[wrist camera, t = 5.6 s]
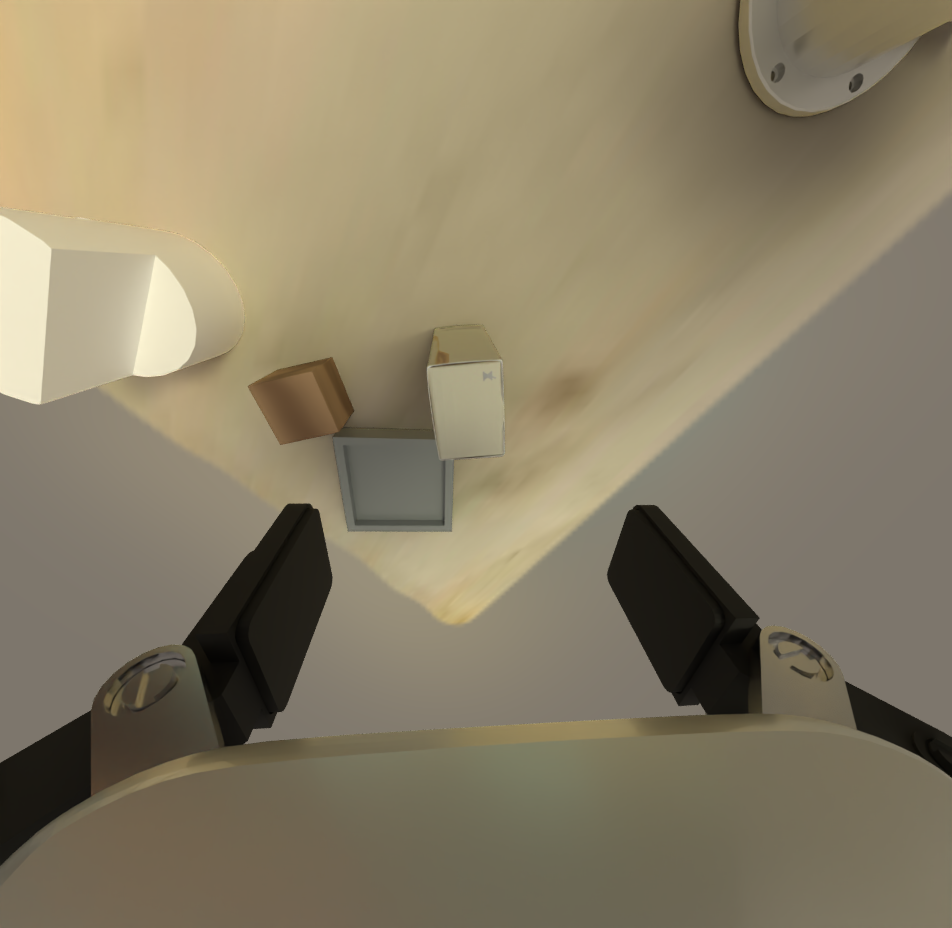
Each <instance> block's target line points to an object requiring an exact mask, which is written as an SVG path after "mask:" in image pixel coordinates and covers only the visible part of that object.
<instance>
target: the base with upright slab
mask: <svg viewBox="0 0 952 928" xmlns="http://www.w3.org/2000/svg"><path fill="white" fill-rule="evenodd" d="M244 322H245V314H244V306H243V301H242V298H241V296H240V293H239V290H238V288H237V285H236V284H235V282H234V281H233V279H232V278H231V276H230V274H229V273H228V271H227V270H226V268H225V267H224V266H223V265H222V264H221V263H220V262H219V261H218V260H217V259H216V258H215V257H214V255H213V254H211V253H210V252H209V251H207V250H206V249H205V248H203V247H202V246H201V245H199V244H198V243H197V242H195V241H193V240H191V239H189V238H186V237H184V236H182V235H180V234H178V233H174V232H169V231H164V230H159V229H153V228H146V227H140V226H133V225H127V224H120V223H113V222H107V221H100V220H94V219H87V218H80V217H76V218H74V217H67V216H60V215H54V214H47V213H40V212H33V211H27V210H20V209H13V208H7V207H0V393H3V394H5V395H8V396H11V397H14V398H17V399H20V400H23V401H27V402H30V403H33V404H40V405H41V404H44V403H47V402H50V401H53V400H56V399H60V398H62V397H66V396H69V395H72V394H75V393H78V392H81V391H85V390H88V389H90V388H94V387H97V386H100V385H103V384H107V383H110V382H113V381H116V380H119V379H122V378H125V377H129V376H132V375H135V376H142V377H153V376H164V375H166V374H169V373H172V372H175V371H178V370H181V369H183V368H186V367H189V366H192V365H195V364H197V363H200V362H203V361H206V360H209V359H212V358H214V357H217V356H219V355H222V354H224V353H227V352H228V351H230V350H231V349H232V348H233V347H234V346H235V345H236V344H237V343H238V341H239V339H240V337H241V335H242V333H243V329H244Z"/></svg>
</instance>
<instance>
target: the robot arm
mask: <svg viewBox="0 0 952 928" xmlns="http://www.w3.org/2000/svg"><path fill="white" fill-rule="evenodd" d="M948 21H949V22H952V0H740V11H739V24H738V25H739V42H740V53H741V57H742V61H743V66H744V70H745V73H746V76H747V78H748V80H749V82H750V84H751V87H752V89H753V91H754V92H755V93H756V94H757V96H758V97H759V98H760V99H761V100H762V102H763V103H764V104H765V105H767V106H768V107H770V108H771V109H773V110H774V111H776V112H777V113H781V114H785V115H788V116H792V117H802V116H812V115H816V114H819V113H823V112H827V111H829V110H831V109H834V108H836V107H838V106H840V105H843V104H845V103H847V102H849V101H851V100H853V99H854V98H856V97H858V96H859V95H861V94H862V93H864V92H866V91H867V90H869V89H870V88H871V87H873V86H874V85H875V84H876V83H877V82H879V81H880V80H881V79H882V78H883V77H885V76H886V75H887V74H888V73H889V72H890V71H891V70H892V69H893V68H894V67H895V66H896V65H897V64H898V63H899V62H900V61H901V60H902V59H903V58H904V57H905V55H906V54H907V53H908V52H909V51H910V50H911V48H912V47H913V46H914V45H915V43H916V42H917V41H918V39H919V38H920V37H921V35H923V34H925V33H927V32H929V31H931V30H933V29H935V28H937V27H939V26H941V25H943V24H945V23H946V22H948ZM607 576H608V581H609V584H610V586H611V588H612V590H613V592H614V593H615V595H616V597H617V599H618V601H619V603H620V605H621V607H622V608H623V611H624V612H625V614H626V616H627V618H628V620H629V622H630V624H631V625H632V628H633V629H634V631H635V633H636V635H637V637H638V639H639V641H640V642H641V645H642V647H643V648H644V650H645V652H646V654H647V656H648V658H649V660H650V662H651V663H652V666H653V667H654V669H655V671H656V673H657V675H658V677H659V679H660V681H661V683H662V684H663V686H664V688H665V689H666V690H667V691H669V692H671V693H672V695H673V696H674V698H675V700H676V702H677V704H678V706H686V705H698V704H699V703H700V704H701V705H702V707H703V709H704V710H705V712H706V713H705V715H693V716H692V715H689V716H670V717H650V718H630V719H612V720H593V721H592V720H591V721H573V722H555V723H537V724H519V725H504V726H485V727H467V728H450V729H434V730H418V731H402V732H388V733H370V734H354V735H340V736H328V737H315V738H303V739H290V740H279V741H266V742H259V743H252V744H244V743H245V742H247V741H248V739H249V737H250V734H251V732H252V730H253V729H258V728H271V727H272V724H273V721H274V719H275V716H276V714H277V712H282V711H283V710H284V709H285V707H286V705H287V703H288V701H289V698H290V695H291V693H292V690H293V687H294V684H295V682H296V679H297V677H298V674H299V671H300V669H301V666H302V663H303V661H304V658H305V655H306V653H307V650H308V647H309V645H310V642H311V639H312V637H313V634H314V631H315V629H316V626H317V623H318V621H319V618H320V616H321V613H322V610H323V608H324V605H325V602H326V599H327V597H328V594H329V591H330V589H331V586H332V572H331V567H330V562H329V557H328V552H327V548H326V543H325V538H324V533H323V528H322V523H321V518H320V514H319V511H318V509H313V507H312V505H311V504H287V505H286V506H285V508H284V509H283V510H282V512H281V513H280V515H279V516H278V517H277V519H276V520H275V522H274V523H273V525H272V526H271V528H270V529H269V530H268V532H267V533H266V534H265V536H264V537H263V539H262V540H261V541H260V543H259V544H258V546H257V547H256V549H255V550H254V551H252V552H250V553H249V554H248V555H247V556H246V557H245V558H244V560H243V561H242V562H241V564H240V565H239V566H238V568H237V569H236V571H235V572H234V573H233V575H232V576H231V577H230V579H229V580H228V582H227V583H226V584H225V586H224V587H223V589H222V590H221V591H220V593H219V594H218V596H217V597H216V598H215V600H214V601H213V602H212V604H211V605H210V607H209V608H208V609H207V611H206V612H205V613H204V615H203V616H202V618H201V619H200V620H199V622H198V623H197V624H196V626H195V627H194V629H193V630H192V631H191V633H190V634H189V635H188V637H187V638H186V640H185V641H184V642H183V644H182V645H167V646H162V647H158V648H155V649H153V650H150V651H148V652H145V653H143V654H141V655H139V656H138V657H136V658H134V659H132V660H131V661H129V662H127V663H126V664H125V665H124V666H122V667H121V668H120V669H118V670H117V671H116V672H115V673H113V674H112V676H111V677H110V678H109V679H108V680H107V681H106V682H105V683H104V684H103V685H102V686H101V688H100V690H99V691H98V693H97V695H96V696H95V698H94V700H93V704H92V709H91V711H89V712H87V713H85V714H84V715H82V716H80V717H79V718H77V719H75V720H74V721H72V722H70V723H68V724H67V725H65V726H63V727H61V728H60V729H58V730H56V731H55V732H53V733H51V734H50V735H48V736H46V737H44V738H42V739H41V740H39V741H37V742H35V743H34V744H32V745H30V746H29V747H27V748H25V749H23V750H22V751H20V752H19V753H17V754H15V755H13V756H11V757H10V758H8V759H6V760H4V761H3V762H1V763H0V928H952V737H950V736H949V735H947V734H945V733H944V732H942V731H939V730H938V729H936V728H934V727H932V726H930V725H928V724H926V723H924V722H922V721H920V720H919V719H917V718H915V717H913V716H911V715H909V714H907V713H905V712H903V711H901V710H899V709H898V708H895V707H894V706H892V705H890V704H888V703H886V702H884V701H882V700H880V699H878V698H876V697H875V696H873V695H871V694H869V693H867V692H865V691H863V690H861V689H859V688H857V687H855V686H853V685H851V684H849V683H848V682H846V681H845V680H844V677H843V674H842V672H841V669H840V667H839V665H838V664H837V663H836V662H835V660H834V659H833V658H832V657H831V656H830V655H829V654H828V653H827V652H826V651H825V650H824V649H823V648H822V647H821V646H819V645H818V644H816V643H815V642H813V641H812V640H811V639H809V638H808V637H806V636H804V635H802V634H800V633H798V632H796V631H793V630H790V629H788V628H785V627H780V626H767V627H765V628H764V629H762V630H761V628H760V627H759V626H758V625H757V624H756V622H757V621H758V619H759V617H758V616H757V615H756V614H755V612H754V611H753V610H752V609H751V608H750V607H749V606H748V605H747V604H746V603H745V601H744V600H743V599H742V598H741V597H740V596H739V595H738V594H737V593H736V592H735V591H734V589H733V588H732V587H731V586H730V585H729V584H728V583H727V582H726V581H725V580H724V579H723V577H722V576H721V575H720V574H719V573H718V572H717V571H716V570H715V569H714V568H713V566H712V565H711V564H710V563H709V562H708V561H707V560H706V559H705V558H704V557H703V556H702V554H700V552H699V551H698V550H697V549H696V548H695V547H694V546H693V545H692V544H691V542H690V541H689V540H688V539H687V538H686V537H685V536H684V535H683V534H682V533H681V531H680V530H679V529H678V528H677V527H676V526H675V525H674V524H673V523H672V522H671V521H670V519H669V518H668V517H667V516H666V515H665V514H664V513H663V512H662V511H661V510H660V509H659V508H658V507H657V506H655V505H636V506H635V507H634V508H633V509H632V510H629V511H628V513H627V516H626V519H625V522H624V525H623V528H622V531H621V534H620V537H619V539H618V542H617V545H616V548H615V551H614V554H613V557H612V560H611V563H610V566H609V569H608V573H607ZM243 744H244V745H243Z"/></svg>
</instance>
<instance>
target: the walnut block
mask: <svg viewBox="0 0 952 928" xmlns="http://www.w3.org/2000/svg"><path fill="white" fill-rule="evenodd" d="M248 388H249V390H250V391H251V393H252V395H253V397H254V399H255V400H256V402H257V404H258V406H259V407H260V409H261V411H262V413H263V415H264V416H265V418H266V420H267V422H268V424H269V425H270V427H271V429H272V431H273V433H274V434H275V436H276V438H277V440H278V441H279V443H280V445H282V444H287V443H292V442H296V441H301V440H305V439H310V438H314V437H319V436H323V435H328V434H332V433H337V432H339V431H340V430H341V429H342V427H343V426H344V424H345V423H346V421H347V420H348V419H349V417H350V416H351V414H352V413H353V412H354V409H353V407H352V404H351V402H350V399H349V397H348V395H347V392H346V390H345V387H344V385H343V382H342V380H341V378H340V375H339V373H338V370H337V368H336V365H335V363H334V360H333V358H332V357H331V358H327V359H322V360H318V361H314V362H309V363H305V364H301V365H296V366H292V367H288V368H283V369H279V370H276V371H274V372H273V373H271V374H269V375H267V376H265V377H264V378H262V379H260V380H258V381H256V382H255V383H253V384H251V385H249V386H248Z"/></svg>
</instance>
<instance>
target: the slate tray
mask: <svg viewBox="0 0 952 928" xmlns="http://www.w3.org/2000/svg"><path fill="white" fill-rule="evenodd" d="M332 438H333V444H334V450H335V456H336V462H337V468H338V474H339V480H340V486H341V493H342V499H343V505H344V511H345V517H346V523H347V529H348V531H397V532H452V507H453V474H454V460H443V461H442V460H439V456H438V450H437V445H436V440H435V434H434V430H415V429H378V428H342V429H341V430H340V431H339V432H337V433H335V434H334V436H333V437H332Z"/></svg>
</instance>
